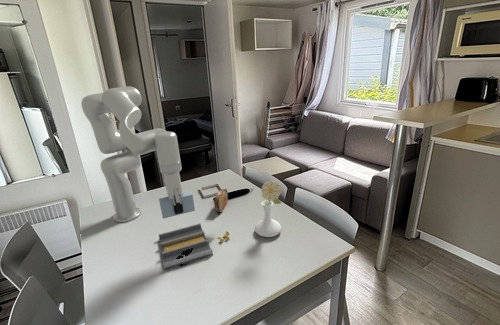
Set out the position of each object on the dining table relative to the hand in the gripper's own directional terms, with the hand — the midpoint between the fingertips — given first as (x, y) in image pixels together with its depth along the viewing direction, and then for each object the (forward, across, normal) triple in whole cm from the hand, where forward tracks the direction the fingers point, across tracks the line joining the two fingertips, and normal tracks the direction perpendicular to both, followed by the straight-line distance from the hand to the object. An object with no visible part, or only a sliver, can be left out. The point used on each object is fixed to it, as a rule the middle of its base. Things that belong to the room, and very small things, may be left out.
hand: (178, 210), depth 102 cm
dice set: (+18, +2, +16) cm, 24 cm away
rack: (+17, 0, 0) cm, 17 cm away
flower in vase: (+17, +7, +35) cm, 40 cm away
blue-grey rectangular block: (+1, 0, 0) cm, 1 cm away
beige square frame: (+17, -43, +23) cm, 52 cm away
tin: (+17, -23, +23) cm, 37 cm away
